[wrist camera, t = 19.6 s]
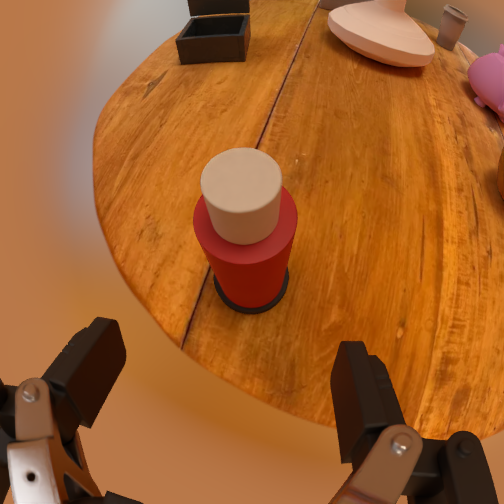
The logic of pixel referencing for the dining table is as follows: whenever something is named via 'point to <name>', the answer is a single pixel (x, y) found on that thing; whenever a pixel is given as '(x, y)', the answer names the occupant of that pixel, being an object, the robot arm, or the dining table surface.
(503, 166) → the apple
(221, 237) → the sauce bottle
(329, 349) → the dining table surface
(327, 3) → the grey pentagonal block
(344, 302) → the dining table surface
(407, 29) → the candle holder
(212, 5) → the box lid
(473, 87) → the teapot
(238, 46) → the box
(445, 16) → the cup
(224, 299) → the black coaster
